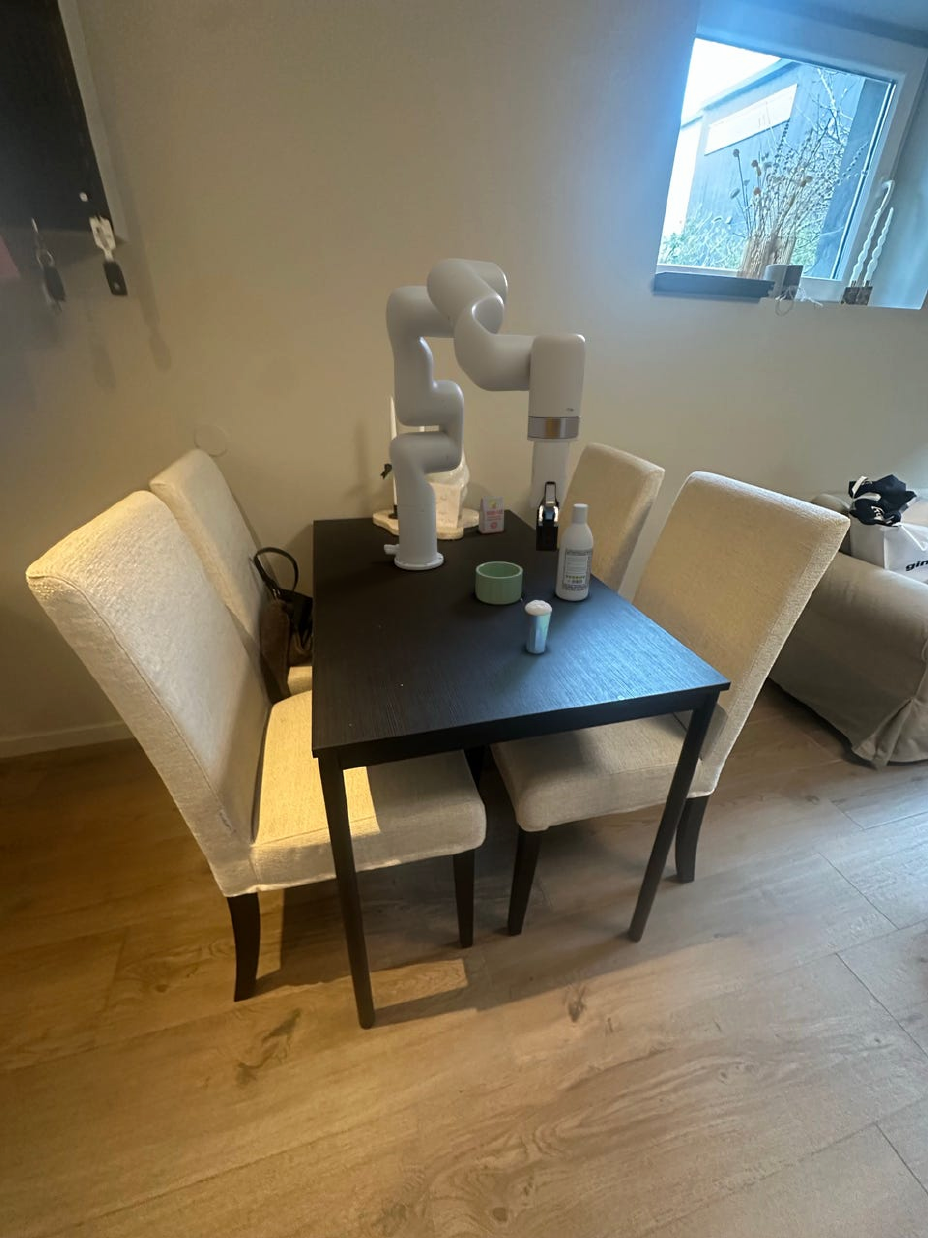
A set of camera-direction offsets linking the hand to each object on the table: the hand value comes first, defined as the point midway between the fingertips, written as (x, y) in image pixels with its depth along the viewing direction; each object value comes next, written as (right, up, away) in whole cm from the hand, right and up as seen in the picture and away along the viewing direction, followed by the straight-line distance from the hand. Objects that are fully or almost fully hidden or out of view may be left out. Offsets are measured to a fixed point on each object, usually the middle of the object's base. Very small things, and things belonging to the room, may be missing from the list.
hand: (545, 541), depth 81 cm
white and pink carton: (-5, +14, +72) cm, 74 cm away
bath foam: (+10, -8, +29) cm, 32 cm away
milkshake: (-1, -18, +8) cm, 20 cm away
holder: (-6, -7, +29) cm, 30 cm away
